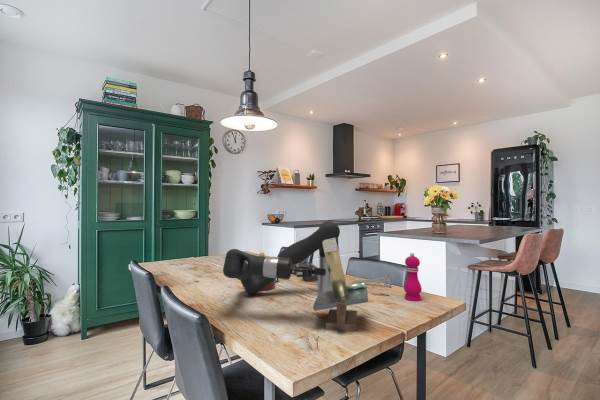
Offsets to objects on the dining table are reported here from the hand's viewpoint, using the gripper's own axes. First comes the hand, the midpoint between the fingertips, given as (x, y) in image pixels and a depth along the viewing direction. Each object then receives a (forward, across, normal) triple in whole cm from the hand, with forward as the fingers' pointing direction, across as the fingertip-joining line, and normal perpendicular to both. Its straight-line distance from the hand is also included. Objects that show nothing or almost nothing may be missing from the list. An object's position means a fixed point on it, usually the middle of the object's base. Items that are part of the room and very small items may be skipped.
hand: (325, 272), depth 110 cm
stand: (+7, 0, -17) cm, 18 cm away
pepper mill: (+36, -32, -15) cm, 50 cm away
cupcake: (-12, -60, -18) cm, 63 cm away
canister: (-33, -41, -19) cm, 56 cm away
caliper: (+20, -53, -16) cm, 59 cm away
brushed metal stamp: (+6, 0, -9) cm, 11 cm away
